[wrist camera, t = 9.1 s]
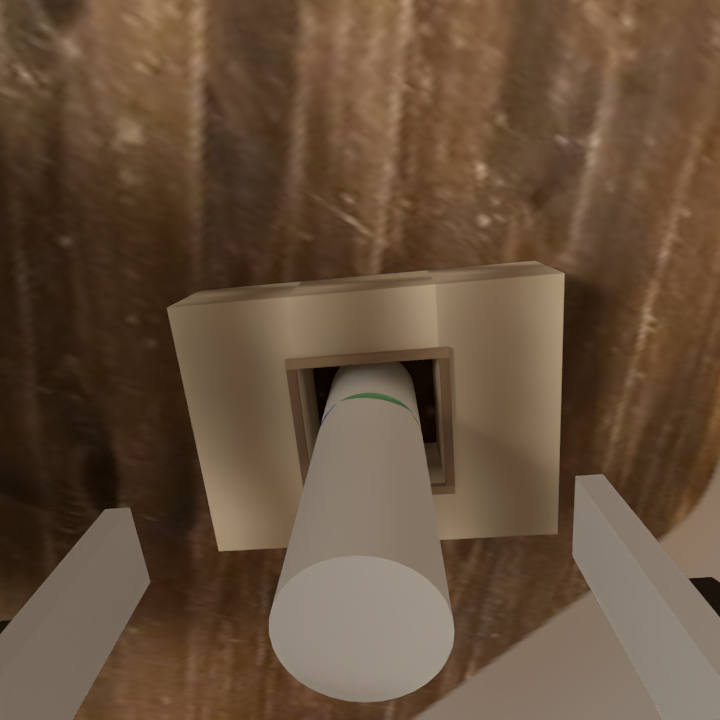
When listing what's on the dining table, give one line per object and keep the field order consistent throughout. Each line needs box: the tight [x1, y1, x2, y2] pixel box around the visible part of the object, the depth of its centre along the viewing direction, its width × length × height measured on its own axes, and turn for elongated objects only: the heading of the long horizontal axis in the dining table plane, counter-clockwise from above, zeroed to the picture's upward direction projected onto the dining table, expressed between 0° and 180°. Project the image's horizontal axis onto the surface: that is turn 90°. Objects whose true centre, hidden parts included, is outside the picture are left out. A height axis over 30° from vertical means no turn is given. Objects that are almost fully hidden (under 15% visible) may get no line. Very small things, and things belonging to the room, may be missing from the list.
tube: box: [269, 361, 455, 702], centre depth 19 cm, size 4×4×15 cm
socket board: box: [167, 261, 565, 551], centre depth 24 cm, size 16×12×4 cm
